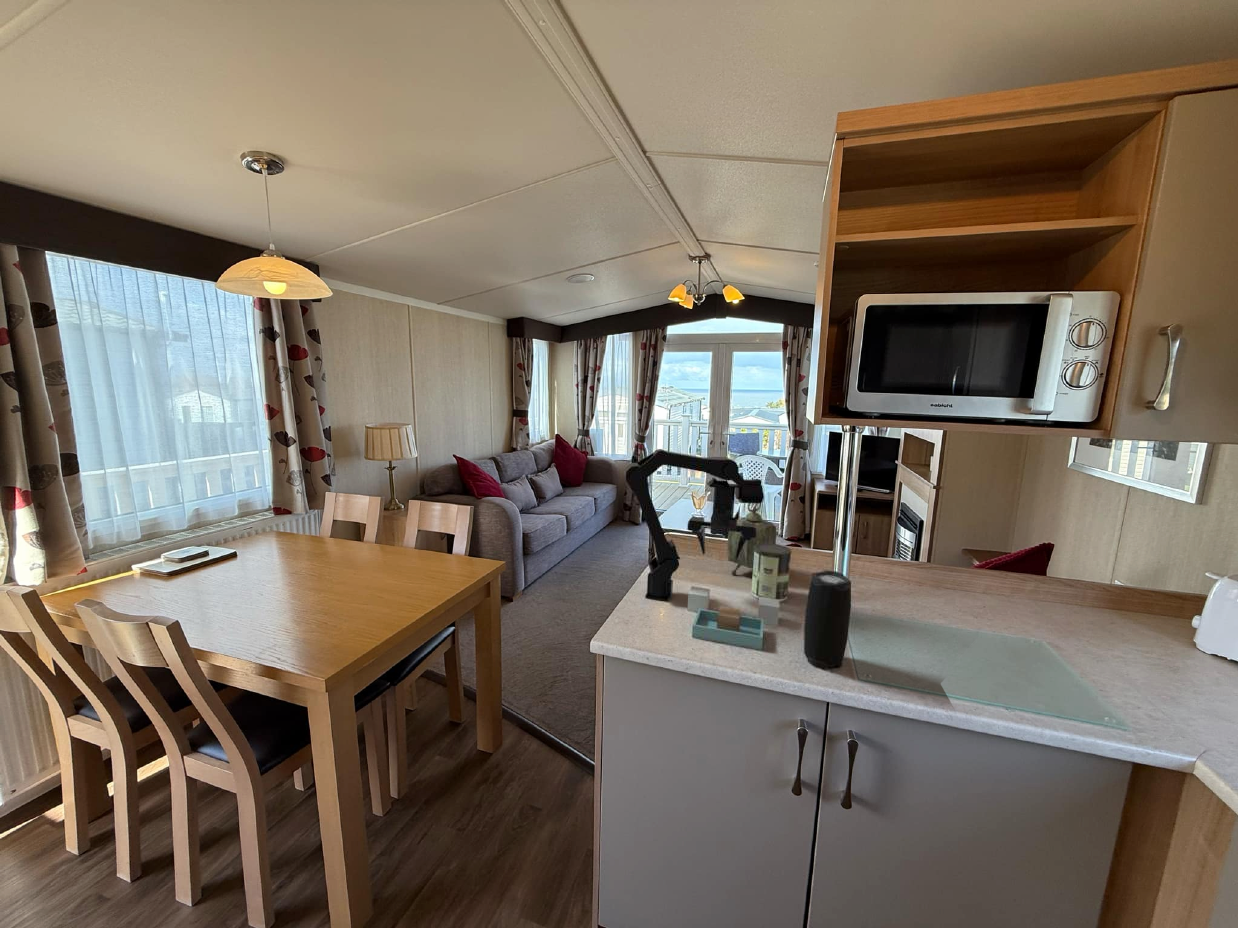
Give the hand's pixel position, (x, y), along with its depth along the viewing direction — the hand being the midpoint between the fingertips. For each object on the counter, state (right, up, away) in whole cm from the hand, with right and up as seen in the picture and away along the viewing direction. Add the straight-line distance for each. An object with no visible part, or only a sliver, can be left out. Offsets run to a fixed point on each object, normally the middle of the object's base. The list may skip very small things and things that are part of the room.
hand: (720, 556), depth 137 cm
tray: (-2, -15, -20) cm, 25 cm away
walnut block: (-2, -14, -20) cm, 25 cm away
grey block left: (-7, -13, -6) cm, 16 cm away
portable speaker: (+16, -17, -31) cm, 39 cm away
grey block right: (+10, -14, -12) cm, 21 cm away
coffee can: (+15, -12, +4) cm, 20 cm away
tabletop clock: (+14, -10, +20) cm, 26 cm away
